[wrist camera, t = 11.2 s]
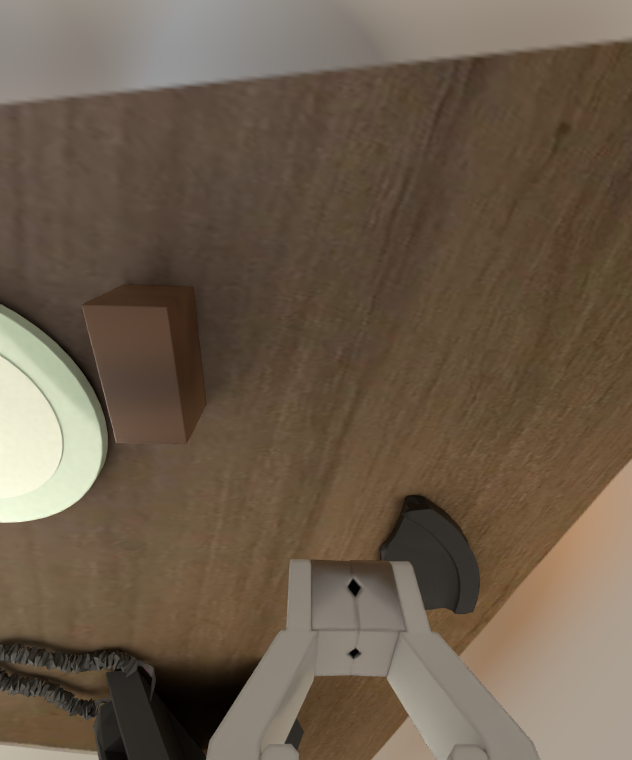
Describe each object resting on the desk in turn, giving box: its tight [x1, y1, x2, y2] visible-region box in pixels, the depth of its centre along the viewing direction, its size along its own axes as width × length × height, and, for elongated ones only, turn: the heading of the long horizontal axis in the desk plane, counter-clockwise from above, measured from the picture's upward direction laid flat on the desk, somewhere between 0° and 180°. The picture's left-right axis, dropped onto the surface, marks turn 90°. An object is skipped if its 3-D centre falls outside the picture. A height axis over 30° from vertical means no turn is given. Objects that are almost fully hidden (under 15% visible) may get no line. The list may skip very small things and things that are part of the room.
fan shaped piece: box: [380, 496, 480, 614], centre depth 31 cm, size 8×14×2 cm, turn 7°
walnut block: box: [82, 284, 206, 444], centre depth 21 cm, size 8×4×4 cm, turn 178°
